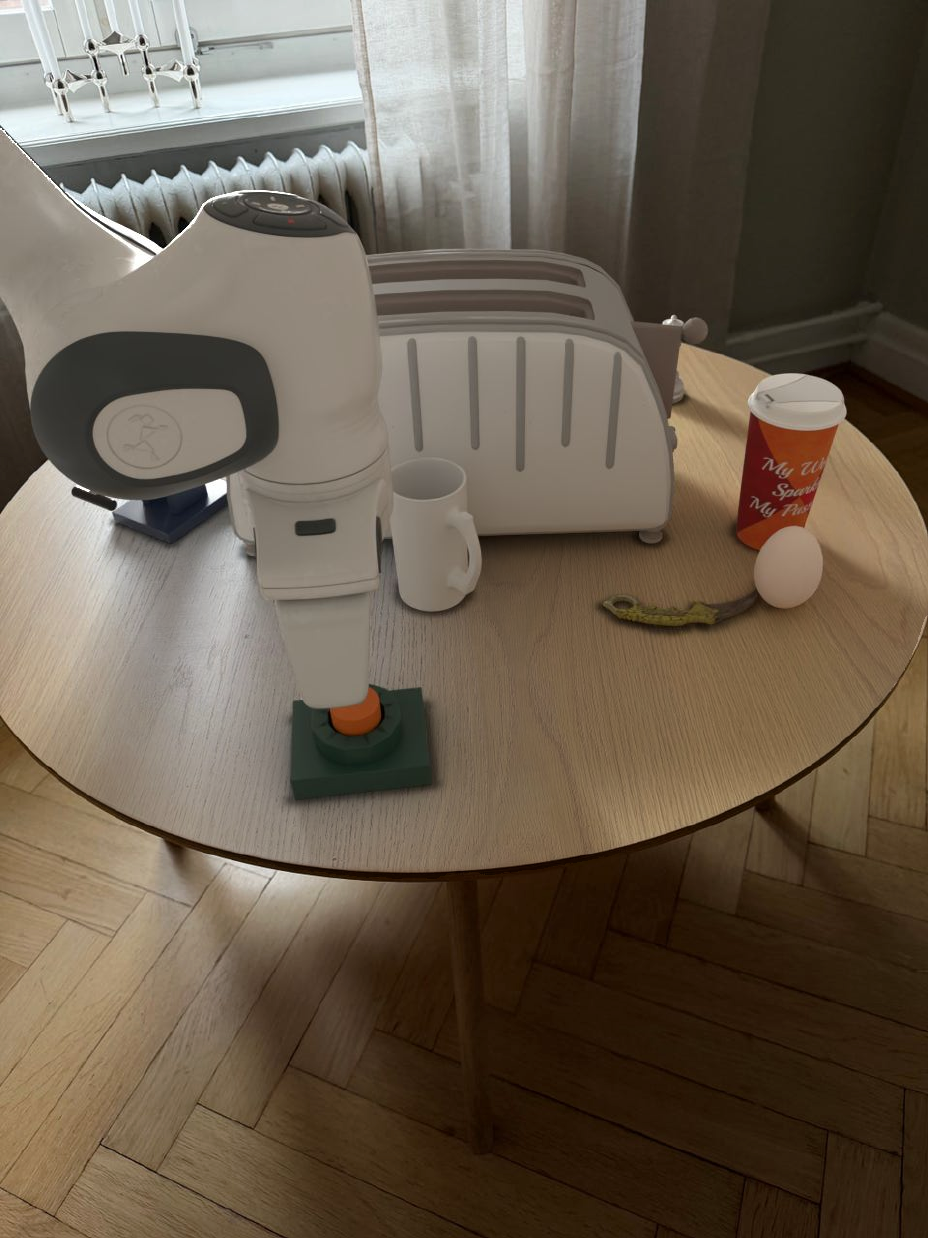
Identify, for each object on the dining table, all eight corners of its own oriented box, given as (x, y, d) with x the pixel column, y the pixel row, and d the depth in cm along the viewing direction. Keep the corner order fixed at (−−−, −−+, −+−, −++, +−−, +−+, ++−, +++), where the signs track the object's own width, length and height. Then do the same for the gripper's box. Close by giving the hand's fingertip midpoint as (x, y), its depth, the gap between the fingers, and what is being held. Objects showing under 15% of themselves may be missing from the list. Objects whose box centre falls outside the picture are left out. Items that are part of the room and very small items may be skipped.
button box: (294, 800, 66) (285, 764, 64) (296, 719, 72) (288, 683, 70) (432, 784, 67) (429, 748, 64) (423, 706, 73) (420, 669, 71)
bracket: (171, 544, 91) (136, 428, 83) (114, 521, 94) (76, 408, 86) (239, 494, 97) (214, 383, 89) (184, 475, 101) (154, 366, 92)
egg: (801, 582, 83) (820, 509, 78) (820, 622, 79) (842, 547, 74) (740, 584, 83) (756, 512, 78) (756, 624, 79) (774, 550, 74)
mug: (381, 588, 85) (368, 476, 77) (438, 558, 88) (432, 448, 80) (450, 643, 79) (444, 528, 71) (509, 609, 82) (509, 496, 74)
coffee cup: (750, 566, 85) (781, 421, 75) (709, 518, 91) (733, 378, 81) (830, 550, 87) (872, 405, 77) (785, 503, 93) (817, 364, 83)
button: (332, 739, 66) (329, 722, 65) (331, 703, 69) (329, 686, 68) (382, 734, 66) (380, 717, 65) (380, 698, 69) (377, 681, 68)
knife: (759, 577, 82) (780, 610, 78) (757, 586, 83) (778, 618, 79) (600, 593, 82) (614, 627, 78) (600, 601, 82) (613, 635, 78)
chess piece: (689, 393, 111) (701, 313, 104) (671, 408, 108) (682, 326, 102) (657, 384, 113) (666, 304, 106) (639, 397, 110) (647, 317, 104)
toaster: (705, 552, 87) (745, 323, 72) (233, 567, 88) (178, 343, 73) (666, 437, 103) (691, 231, 89) (268, 451, 104) (228, 248, 89)
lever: (117, 516, 86) (101, 503, 84) (80, 502, 88) (64, 489, 86) (184, 414, 89) (170, 399, 87) (147, 403, 91) (133, 387, 89)
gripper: (270, 406, 62) (298, 568, 71) (255, 598, 47) (293, 773, 56) (364, 399, 63) (380, 561, 72) (379, 587, 47) (397, 763, 56)
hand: (342, 656), depth 64 cm, fingers closed
